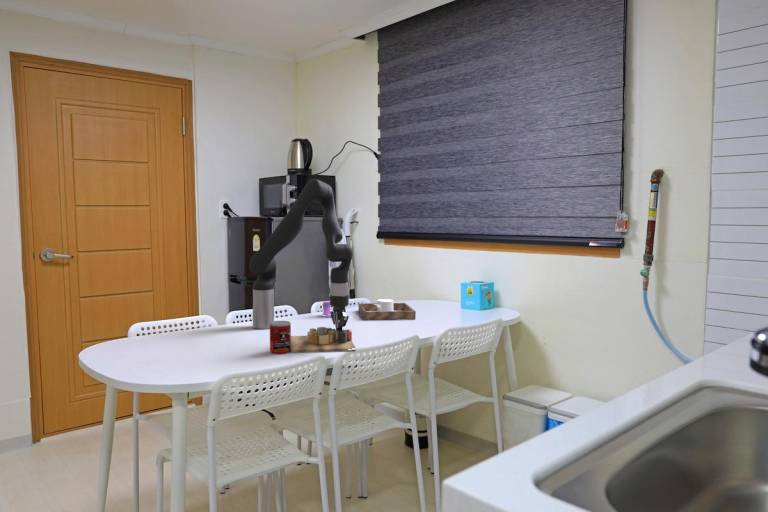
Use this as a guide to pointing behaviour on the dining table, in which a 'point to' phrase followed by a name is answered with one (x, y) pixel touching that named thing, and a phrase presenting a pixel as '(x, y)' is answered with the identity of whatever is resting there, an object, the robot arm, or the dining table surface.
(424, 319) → the dining table surface
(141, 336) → the dining table surface
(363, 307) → the walnut frame
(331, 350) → the jig board
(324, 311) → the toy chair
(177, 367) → the dining table surface
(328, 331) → the gold ring with lever
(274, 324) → the canned food
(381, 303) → the tree stump
